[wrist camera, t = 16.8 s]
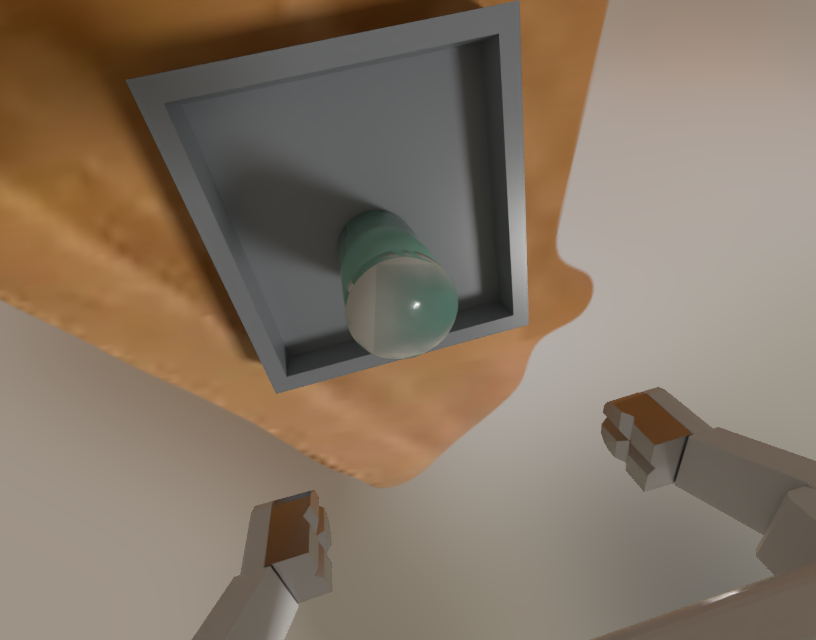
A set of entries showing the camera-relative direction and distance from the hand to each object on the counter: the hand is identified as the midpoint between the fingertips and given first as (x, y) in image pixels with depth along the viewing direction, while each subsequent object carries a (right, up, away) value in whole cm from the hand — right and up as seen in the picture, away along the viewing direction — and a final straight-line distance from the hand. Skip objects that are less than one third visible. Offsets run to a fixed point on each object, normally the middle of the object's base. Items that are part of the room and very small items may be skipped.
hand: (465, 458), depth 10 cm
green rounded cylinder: (-4, +9, +17) cm, 19 cm away
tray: (-4, +11, +17) cm, 20 cm away
